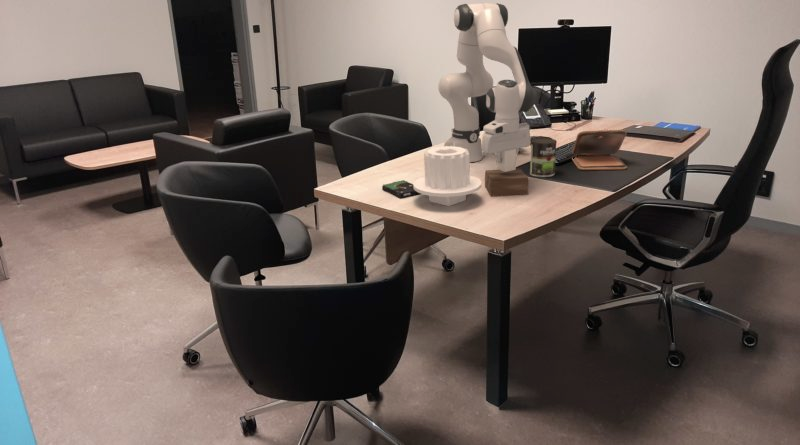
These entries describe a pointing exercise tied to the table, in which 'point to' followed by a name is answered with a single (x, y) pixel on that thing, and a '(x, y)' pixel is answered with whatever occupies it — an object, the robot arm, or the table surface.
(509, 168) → the white block
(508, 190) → the walnut box
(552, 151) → the coffee can
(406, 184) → the disk drive
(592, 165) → the case
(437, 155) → the ribbed cylinder on disc
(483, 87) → the robot arm
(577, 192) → the table surface
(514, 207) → the table surface
